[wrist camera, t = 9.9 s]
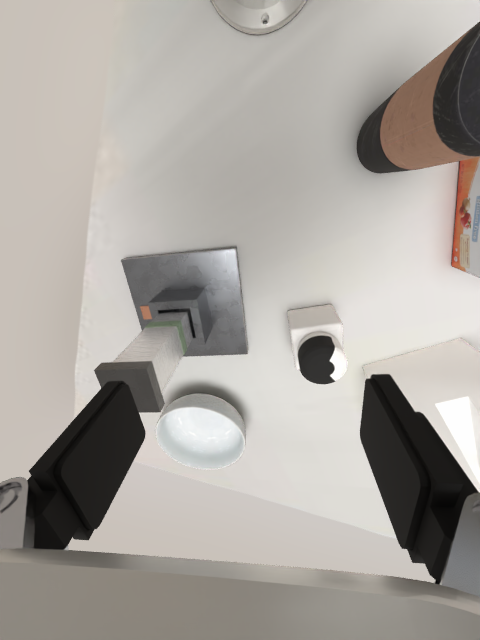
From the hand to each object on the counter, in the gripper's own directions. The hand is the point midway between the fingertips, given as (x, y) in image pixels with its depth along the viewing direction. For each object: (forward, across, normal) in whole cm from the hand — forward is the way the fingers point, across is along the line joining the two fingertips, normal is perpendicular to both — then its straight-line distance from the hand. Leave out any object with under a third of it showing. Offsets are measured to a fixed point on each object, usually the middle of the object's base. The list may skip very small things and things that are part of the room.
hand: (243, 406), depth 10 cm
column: (+25, +13, +8) cm, 29 cm away
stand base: (+32, +13, +8) cm, 36 cm away
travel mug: (+32, -16, -12) cm, 38 cm away
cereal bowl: (+33, +14, +32) cm, 48 cm away
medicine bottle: (+32, -7, +13) cm, 36 cm away
